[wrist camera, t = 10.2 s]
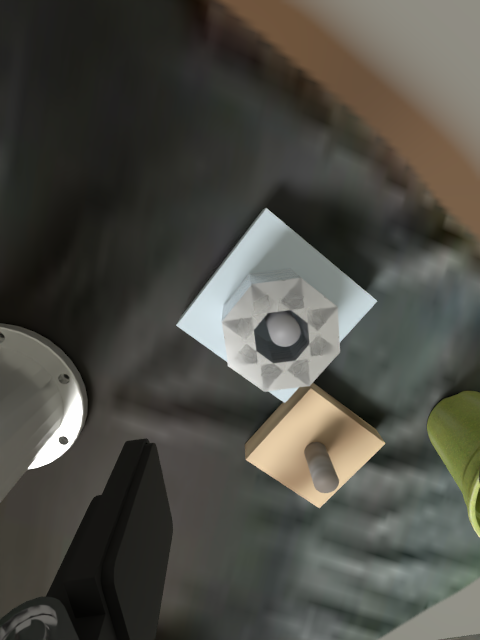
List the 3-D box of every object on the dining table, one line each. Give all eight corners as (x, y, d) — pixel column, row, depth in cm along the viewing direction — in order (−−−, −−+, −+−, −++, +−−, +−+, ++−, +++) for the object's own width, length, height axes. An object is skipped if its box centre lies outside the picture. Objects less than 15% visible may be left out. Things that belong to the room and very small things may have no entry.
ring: (218, 277, 24) (216, 288, 20) (319, 264, 24) (336, 272, 20) (232, 369, 26) (232, 396, 22) (325, 358, 26) (342, 382, 22)
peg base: (181, 315, 27) (164, 346, 21) (263, 209, 25) (273, 205, 19) (280, 387, 29) (294, 436, 22) (364, 293, 27) (406, 317, 20)
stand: (244, 444, 30) (247, 491, 25) (305, 377, 29) (322, 412, 24) (314, 490, 32) (330, 544, 27) (375, 429, 30) (406, 473, 25)
